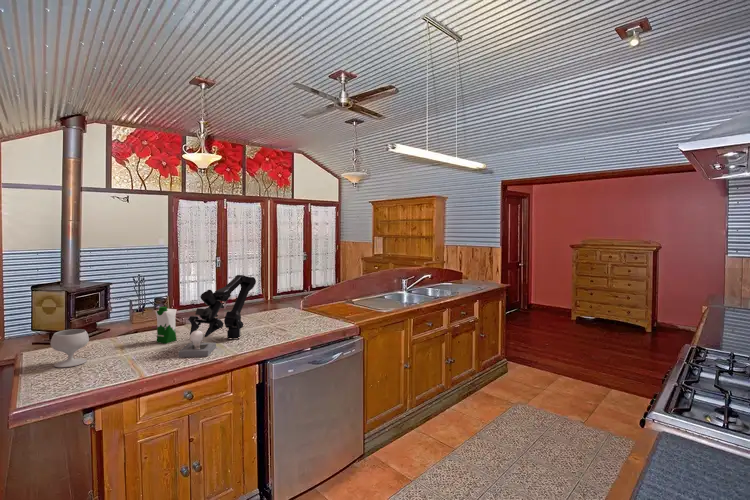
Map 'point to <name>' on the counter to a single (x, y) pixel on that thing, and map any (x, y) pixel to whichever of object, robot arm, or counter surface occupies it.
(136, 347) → the counter surface
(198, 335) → the lightbulb
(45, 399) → the counter surface
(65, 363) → the chalice
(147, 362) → the counter surface
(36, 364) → the counter surface
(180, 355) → the holder
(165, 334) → the milk carton
